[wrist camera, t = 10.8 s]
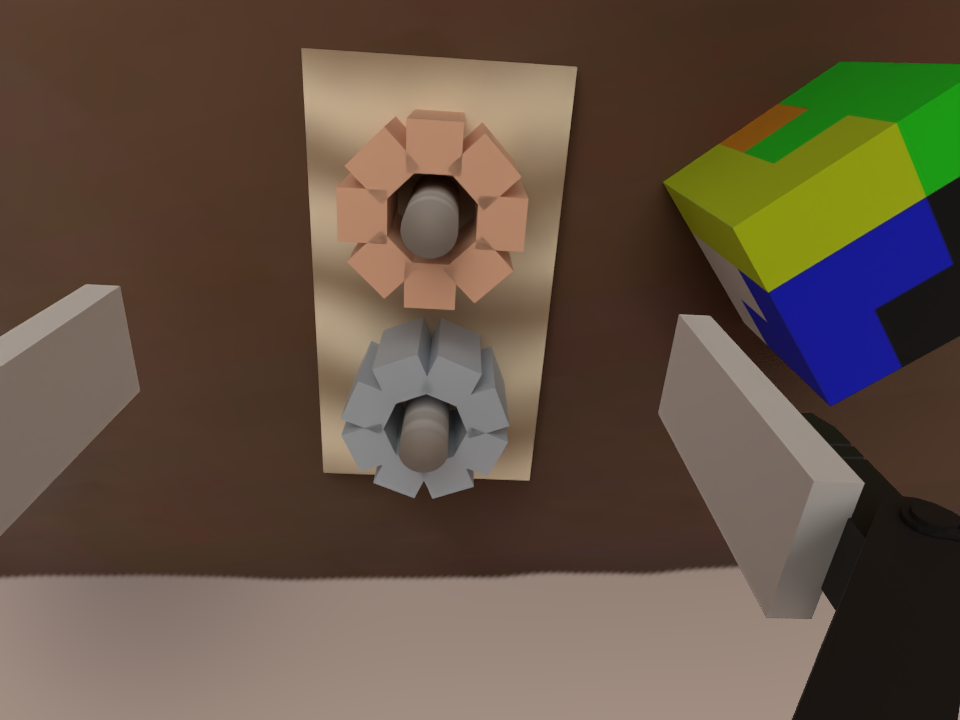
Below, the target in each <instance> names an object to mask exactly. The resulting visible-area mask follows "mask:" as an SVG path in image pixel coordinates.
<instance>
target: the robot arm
mask: <svg viewBox="0 0 960 720" xmlns="http://www.w3.org/2000/svg"><path fill="white" fill-rule="evenodd" d="M139 391H140V388H139V383H138V377H137V372H136V367H135V362H134V357H133V351H132V346H131V341H130V336H129V330H128V325H127V320H126V315H125V310H124V304H123V299H122V294H121V289H120V286H110V285H90V284H86V285H84V286H82V287H81V288H79V289H77V290H76V291H74V292H73V293H71V294H69V295H68V296H66V297H64V298H63V299H61V300H59V301H58V302H56V303H55V304H53V305H51V306H50V307H48V308H46V309H45V310H43V311H41V312H40V313H38V314H37V315H35V316H33V317H32V318H30V319H28V320H27V321H25V322H23V323H22V324H20V325H19V326H17V327H15V328H14V329H12V330H10V331H9V332H7V333H5V334H4V335H2V336H1V337H0V536H1V535H2V534H3V533H4V532H5V531H6V529H7V528H8V527H9V526H10V525H11V524H12V523H13V522H14V521H15V520H16V519H17V518H18V517H19V516H20V515H21V514H22V513H23V512H24V511H25V510H26V509H27V508H28V507H29V506H30V505H31V504H32V503H33V501H34V500H35V499H36V498H37V497H38V496H39V495H40V494H41V493H42V492H43V491H44V490H45V489H46V488H47V487H48V486H49V485H50V484H51V483H52V482H53V481H54V480H55V479H56V478H57V477H58V476H59V474H60V473H61V472H62V471H63V470H64V469H65V468H66V467H67V466H68V465H69V464H70V463H71V462H72V461H73V460H74V459H75V458H76V457H77V456H78V455H79V454H80V453H81V452H82V451H83V450H84V449H85V447H86V446H87V445H88V444H89V443H90V442H91V441H92V440H93V439H94V438H95V437H96V436H97V435H98V434H99V433H100V432H101V431H102V430H103V429H104V428H105V427H106V426H107V425H108V424H109V423H110V422H111V420H112V419H113V418H114V417H115V416H116V415H117V414H118V413H119V412H120V411H121V410H122V409H123V408H124V407H125V406H126V405H127V404H128V403H129V402H130V401H131V400H132V399H133V398H134V397H135V396H136V395H137V393H138V392H139ZM658 414H659V416H660V418H661V420H662V422H663V424H664V425H665V427H666V429H667V431H668V433H669V435H670V437H671V439H672V441H673V442H674V444H675V446H676V448H677V450H678V452H679V454H680V456H681V458H682V459H683V461H684V463H685V465H686V467H687V469H688V471H689V473H690V475H691V476H692V478H693V480H694V482H695V484H696V486H697V488H698V490H699V492H700V493H701V495H702V497H703V499H704V501H705V503H706V505H707V507H708V509H709V510H710V512H711V514H712V516H713V518H714V520H715V522H716V524H717V526H718V527H719V529H720V531H721V533H722V535H723V537H724V539H725V541H726V543H727V544H728V546H729V548H730V550H731V552H732V554H733V556H734V558H735V560H736V561H737V563H738V565H739V567H740V569H741V571H742V573H743V575H744V576H745V578H746V580H747V582H748V584H749V586H750V588H751V590H752V591H753V593H754V595H755V597H756V599H757V601H758V603H759V605H760V607H761V608H762V610H763V612H764V614H765V616H766V618H794V619H812V616H813V614H814V611H815V609H816V606H817V603H818V601H819V599H820V596H821V594H822V591H823V592H824V594H825V595H826V597H827V598H828V600H829V601H830V603H831V604H832V606H833V607H834V609H835V610H836V611H835V614H834V616H833V619H832V621H831V624H830V626H829V628H828V631H827V633H826V636H825V638H824V641H823V643H822V645H821V648H820V650H819V653H818V655H817V658H816V661H815V663H814V666H813V668H812V671H811V673H810V676H809V678H808V681H807V683H806V686H805V688H804V691H803V693H802V696H801V698H800V701H799V703H798V706H797V708H796V711H795V713H794V715H793V718H792V720H958V713H959V706H960V516H958V515H957V514H955V513H954V512H952V511H950V510H948V509H946V508H943V507H941V506H939V505H937V504H935V503H932V502H928V501H925V500H921V499H918V498H913V497H904V496H902V495H901V494H900V493H899V492H898V491H897V490H896V489H895V488H894V487H893V486H892V485H891V484H890V483H889V482H888V481H887V480H886V479H885V478H884V477H883V476H882V475H881V474H880V473H879V472H878V471H877V470H876V469H875V468H874V467H873V466H872V465H871V464H870V462H869V461H868V460H864V459H863V455H862V454H861V453H860V452H859V451H858V450H857V449H856V448H855V447H854V446H851V443H850V442H849V441H848V440H847V439H846V438H845V437H844V436H843V435H842V434H841V433H840V432H839V431H838V430H837V429H836V428H835V427H833V426H832V425H830V424H828V423H827V422H825V421H823V420H822V419H820V418H818V417H817V416H815V415H813V414H812V413H799V411H798V410H797V409H796V408H795V407H794V406H793V405H792V404H791V403H790V402H789V401H788V400H787V398H786V397H785V396H784V395H783V394H782V393H781V392H780V391H779V390H778V389H777V388H776V387H775V385H774V384H773V383H772V382H771V381H770V380H769V379H768V378H767V377H766V376H765V375H764V374H763V372H762V371H761V370H760V369H759V368H758V367H757V366H756V365H755V364H754V363H753V362H752V360H751V359H750V358H749V357H748V356H747V355H746V354H745V353H744V352H743V351H742V350H741V349H740V347H739V346H738V345H737V344H736V343H735V342H734V341H733V340H732V339H731V338H730V337H729V336H728V334H727V333H726V332H725V331H724V330H723V329H722V328H721V327H720V326H719V325H718V324H717V323H716V321H715V320H714V319H713V318H712V317H711V316H705V315H685V314H679V316H678V321H677V326H676V331H675V335H674V340H673V345H672V350H671V354H670V359H669V364H668V369H667V374H666V378H665V383H664V388H663V393H662V397H661V402H660V407H659V412H658Z"/></svg>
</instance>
